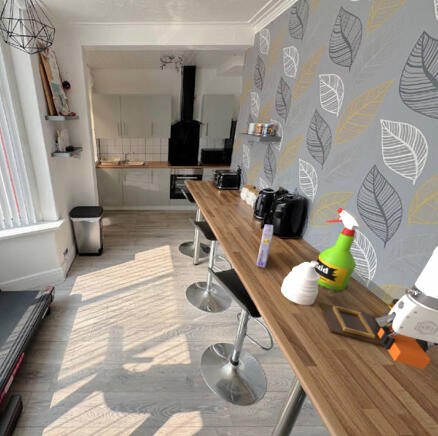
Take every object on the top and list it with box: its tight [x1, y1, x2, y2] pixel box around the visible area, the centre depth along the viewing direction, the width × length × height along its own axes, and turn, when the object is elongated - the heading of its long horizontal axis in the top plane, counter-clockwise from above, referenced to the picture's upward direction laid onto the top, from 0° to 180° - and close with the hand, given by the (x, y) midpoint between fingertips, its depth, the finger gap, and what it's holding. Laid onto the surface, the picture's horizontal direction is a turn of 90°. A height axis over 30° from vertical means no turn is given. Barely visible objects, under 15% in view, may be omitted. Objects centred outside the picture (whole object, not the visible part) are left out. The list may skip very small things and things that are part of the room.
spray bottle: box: [314, 207, 365, 291], centre depth 108 cm, size 14×18×35 cm
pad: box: [378, 327, 432, 370], centre depth 64 cm, size 6×9×4 cm, turn 160°
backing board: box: [319, 302, 385, 348], centre depth 89 cm, size 17×15×2 cm
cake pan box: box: [255, 224, 274, 269], centre depth 126 cm, size 19×5×18 cm, turn 152°
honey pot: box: [280, 260, 320, 306], centre depth 100 cm, size 13×13×18 cm
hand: (399, 348), depth 64 cm, fingers closed on pad, 6 cm apart
